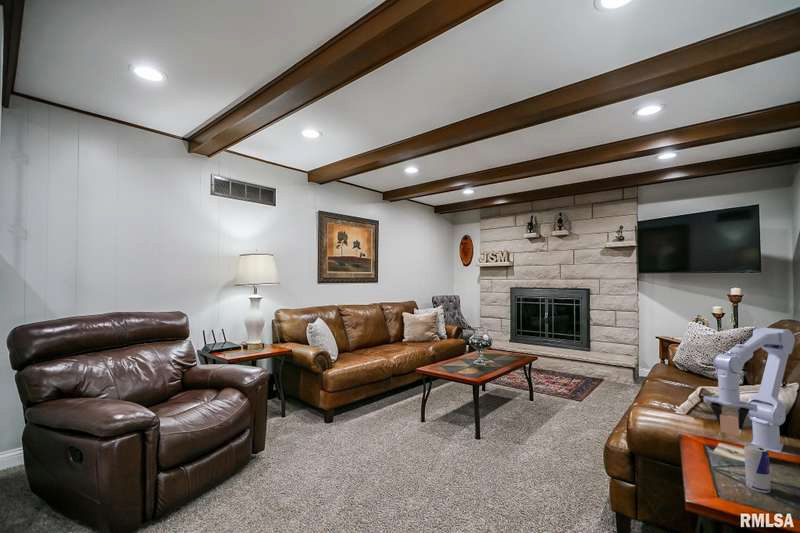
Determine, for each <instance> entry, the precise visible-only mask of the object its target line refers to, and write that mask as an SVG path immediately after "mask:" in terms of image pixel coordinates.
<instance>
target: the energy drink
mask: <svg viewBox="0 0 800 533" xmlns="http://www.w3.org/2000/svg"><path fill="white" fill-rule="evenodd" d="M743 448H744V453H745V462H744V466H745V467H744V469H745V485H746V487H747V488H748V489H750V490H752V491H755V492H757V493H761V494H769V493H770V492H771V487H772V486H771V472H770V471H771V470H770V454H769V450H767V449H766V448H764V447H762V446H758V445H753V444H751V443H748V444H747V443H746V444H745V445H744V447H743Z"/></svg>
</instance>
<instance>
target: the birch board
mask: <svg viewBox="0 0 800 533" xmlns="http://www.w3.org/2000/svg"><path fill="white" fill-rule="evenodd" d="M711 454H713V455H717V456H720V457H725V458H729V459H732V460H737V461H740V462H742V463H743V462H744V463H745V453H744V447H740V446H735V445H731V444H728V443H723V442H719V443H718V444H717V446H716V447H715V448H714V450H713V451H712V452H711Z"/></svg>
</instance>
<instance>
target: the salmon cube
mask: <svg viewBox="0 0 800 533" xmlns="http://www.w3.org/2000/svg"><path fill="white" fill-rule="evenodd" d="M719 426H720V432H721V433H725V434H729V435H733V436H734V435H735V436H738V437H739V436H740V435H741V434H742V431H743V430H740V429H739V413H738V414H736V413H731V412H726V411H722V413H721V414H720V425H719Z"/></svg>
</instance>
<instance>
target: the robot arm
mask: <svg viewBox="0 0 800 533" xmlns="http://www.w3.org/2000/svg"><path fill="white" fill-rule="evenodd" d="M795 342H796V337H795V336H794V333H793V331H791V330H790V329H787V328H786V329H782V328H772V327H763V326H758V327H756V328H755V329H753V330H752V336H751V337H749V339H748V340H746V341H745V342H744V343H743V344H742V343H736V344H735V345H734V346H733V347H732V348H730V349H729V350H727V351H726V352H725V353H724V354H722V353H719V354H716V355H715V356H714V358H713V361H712V365H713V367H714V369H715V373H716V374H717V382H718V385H717V386H718V397H717V396H716V397H715V396H707V395H705V396H703V403H708V404H710V408H711V409H712V411H713V412H714V414H715V417H716V419H717V421H718V422H717V423H718V425H719V426H720V414H721V413H722V412H723V406H726V407H731V408H735V409H736V408H737V409H738V411H737V412H738V415H739V429H740V430H741V431H743V430H744V423H745V420H746V418H747V417H749V420H751V422H752V441H751V442H750V444H753V445H758V446H762V447H764V448H766V449H767V450H768V451H771V452H776V453H782V450H783V448H784V444H783V443H781V440H780V439H781V438H780V437H781V436H780V426H781V425H783V424H784V423H785V421H786V416H787V415H786V409H787V407H786V405H785V404H784V403H782V401H781V400H780V399H779V395H780V391H781V387H782V382H783V378H784V375H785V370H786V368H787V367H786V365H787V362H788V359H789V355H791V354H793V353H792V352H793V351H794V350H793V349H794V345H795ZM760 348H761V349H762V350H763V351H765V352H767V354H768V355H767V360H766V363H765V367H764V371H763V374H762V377H761V378H762V379H761V381H760V382H761V383H760V386H759V387H760V388H759V390H758V392H757V393H756V394H752V395H750V396H749V399H748V400H747V402H745V401H742V400H741V396H740V395H741V394H740V377H739V373H740V372H742V371H743V368H744V365H745V364H746V362H748V361H749V360H750V359H751V358H754V357H753V356H754V352H756V351H757V350H759V349H760Z"/></svg>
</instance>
